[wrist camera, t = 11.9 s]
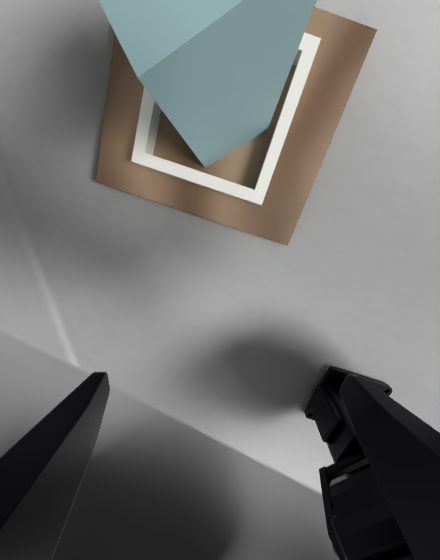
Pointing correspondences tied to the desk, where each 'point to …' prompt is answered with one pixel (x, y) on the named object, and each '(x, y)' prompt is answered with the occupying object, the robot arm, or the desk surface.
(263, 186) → the wooden tray with frame
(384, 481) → the robot arm
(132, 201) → the desk surface
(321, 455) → the desk surface
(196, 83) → the pale blue tall block
